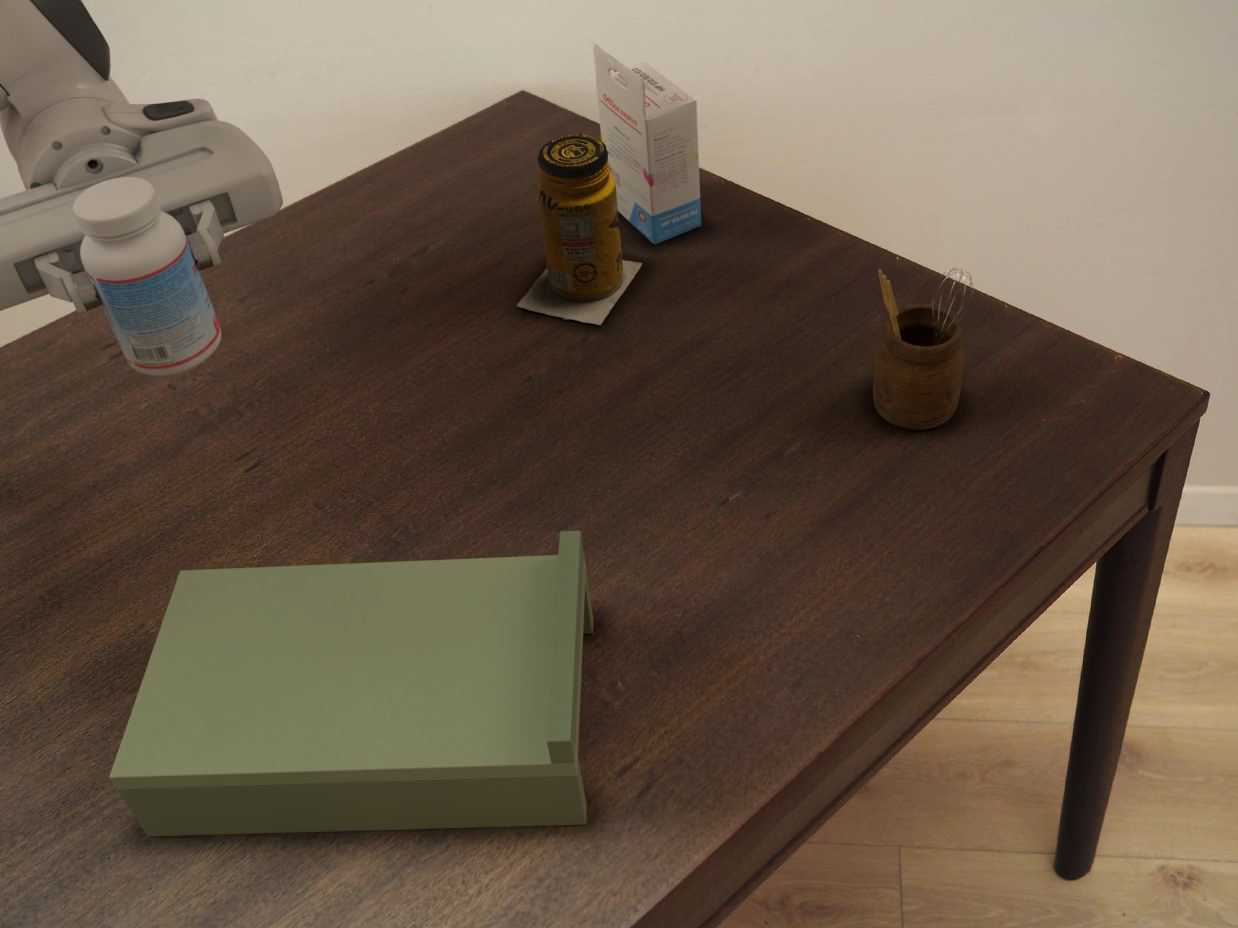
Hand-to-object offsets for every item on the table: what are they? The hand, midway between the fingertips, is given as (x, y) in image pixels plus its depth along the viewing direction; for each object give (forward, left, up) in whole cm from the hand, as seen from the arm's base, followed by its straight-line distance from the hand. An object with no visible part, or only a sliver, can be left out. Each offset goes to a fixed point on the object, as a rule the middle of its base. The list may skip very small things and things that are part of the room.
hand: (148, 279), depth 76 cm
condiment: (+24, +21, -18) cm, 36 cm away
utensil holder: (+48, +5, -18) cm, 51 cm away
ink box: (+29, +31, -18) cm, 46 cm away
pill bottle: (0, +1, -6) cm, 6 cm away
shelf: (+14, -20, -18) cm, 30 cm away
